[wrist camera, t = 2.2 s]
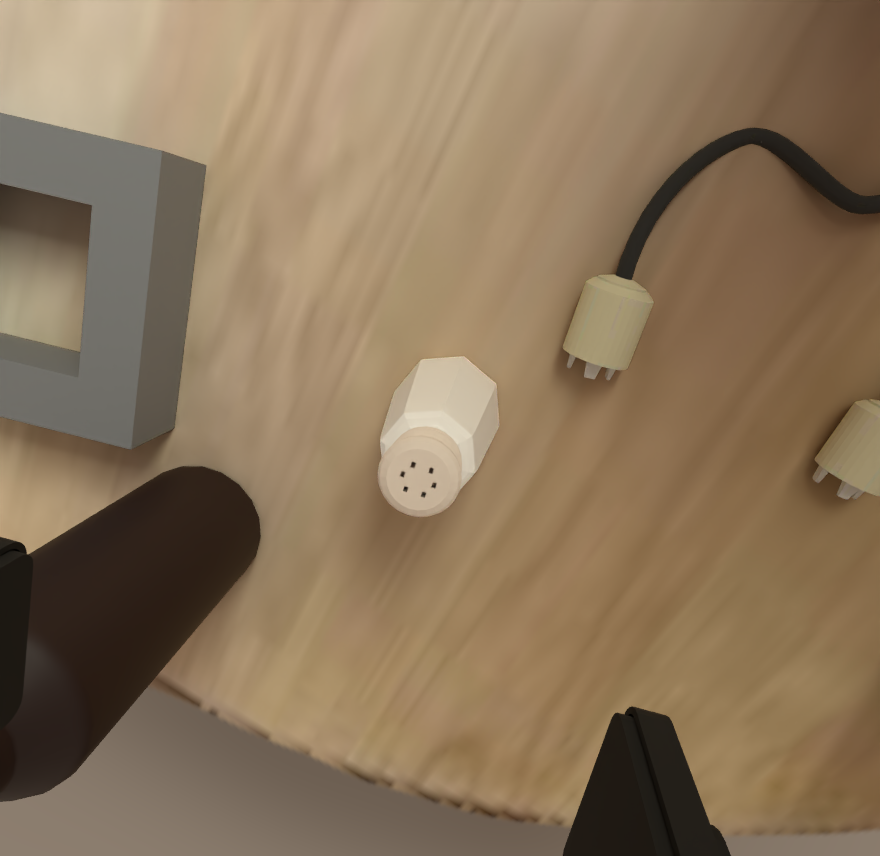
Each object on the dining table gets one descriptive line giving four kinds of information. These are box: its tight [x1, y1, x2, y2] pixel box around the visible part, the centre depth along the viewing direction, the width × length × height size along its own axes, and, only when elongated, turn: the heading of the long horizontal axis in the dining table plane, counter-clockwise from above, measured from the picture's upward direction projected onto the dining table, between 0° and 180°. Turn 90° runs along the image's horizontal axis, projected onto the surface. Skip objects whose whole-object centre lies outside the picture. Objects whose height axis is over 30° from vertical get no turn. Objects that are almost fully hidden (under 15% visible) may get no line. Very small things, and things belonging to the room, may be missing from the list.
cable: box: [563, 128, 880, 500], centre depth 28 cm, size 16×16×4 cm
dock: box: [0, 113, 206, 450], centre depth 30 cm, size 13×13×4 cm
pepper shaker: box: [377, 356, 499, 517], centre depth 26 cm, size 5×5×11 cm
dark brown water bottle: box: [0, 466, 261, 802], centre depth 25 cm, size 7×7×20 cm
